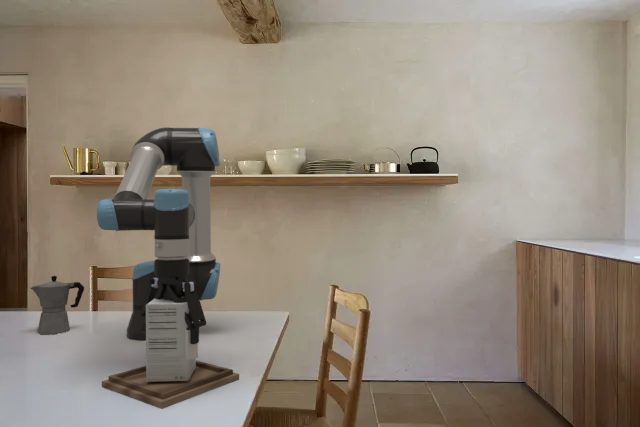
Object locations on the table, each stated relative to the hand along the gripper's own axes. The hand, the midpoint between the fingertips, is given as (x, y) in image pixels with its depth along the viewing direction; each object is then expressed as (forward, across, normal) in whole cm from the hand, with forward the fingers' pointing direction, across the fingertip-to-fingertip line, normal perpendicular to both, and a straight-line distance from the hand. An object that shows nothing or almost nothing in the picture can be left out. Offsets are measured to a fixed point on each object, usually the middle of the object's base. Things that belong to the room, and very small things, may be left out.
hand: (172, 353), depth 110 cm
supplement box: (+5, 0, 0) cm, 5 cm away
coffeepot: (+7, -71, +10) cm, 72 cm away
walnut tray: (+6, 0, 0) cm, 6 cm away
